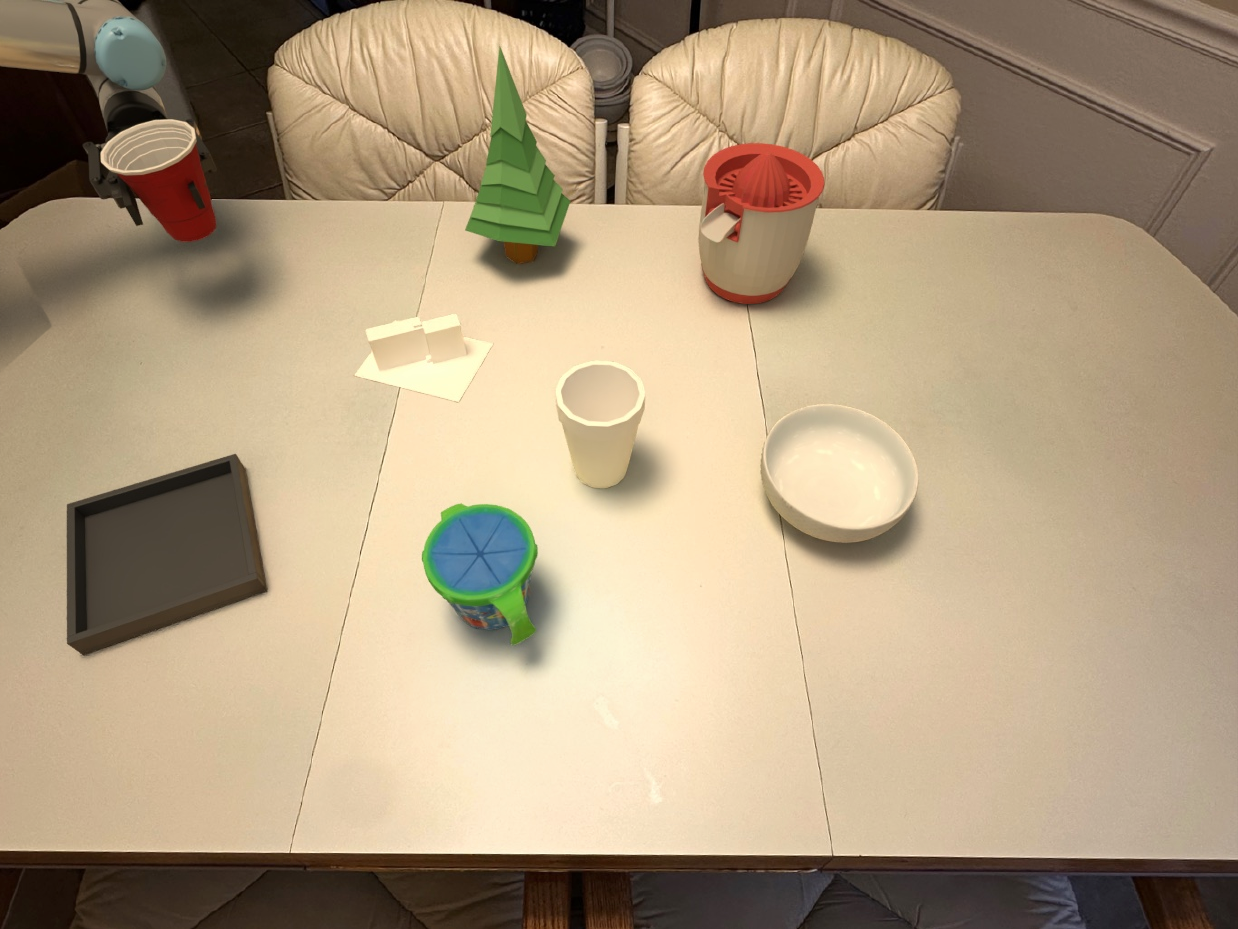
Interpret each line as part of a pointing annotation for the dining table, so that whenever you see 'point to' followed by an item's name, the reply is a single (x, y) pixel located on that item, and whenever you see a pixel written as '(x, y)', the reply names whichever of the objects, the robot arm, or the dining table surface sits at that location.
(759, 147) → the citrus juicer
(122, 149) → the plastic cup
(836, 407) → the cereal bowl
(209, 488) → the tray
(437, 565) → the snack cup
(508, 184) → the decorative tree
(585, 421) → the foam cup
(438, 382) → the napkin holder
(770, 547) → the dining table surface
